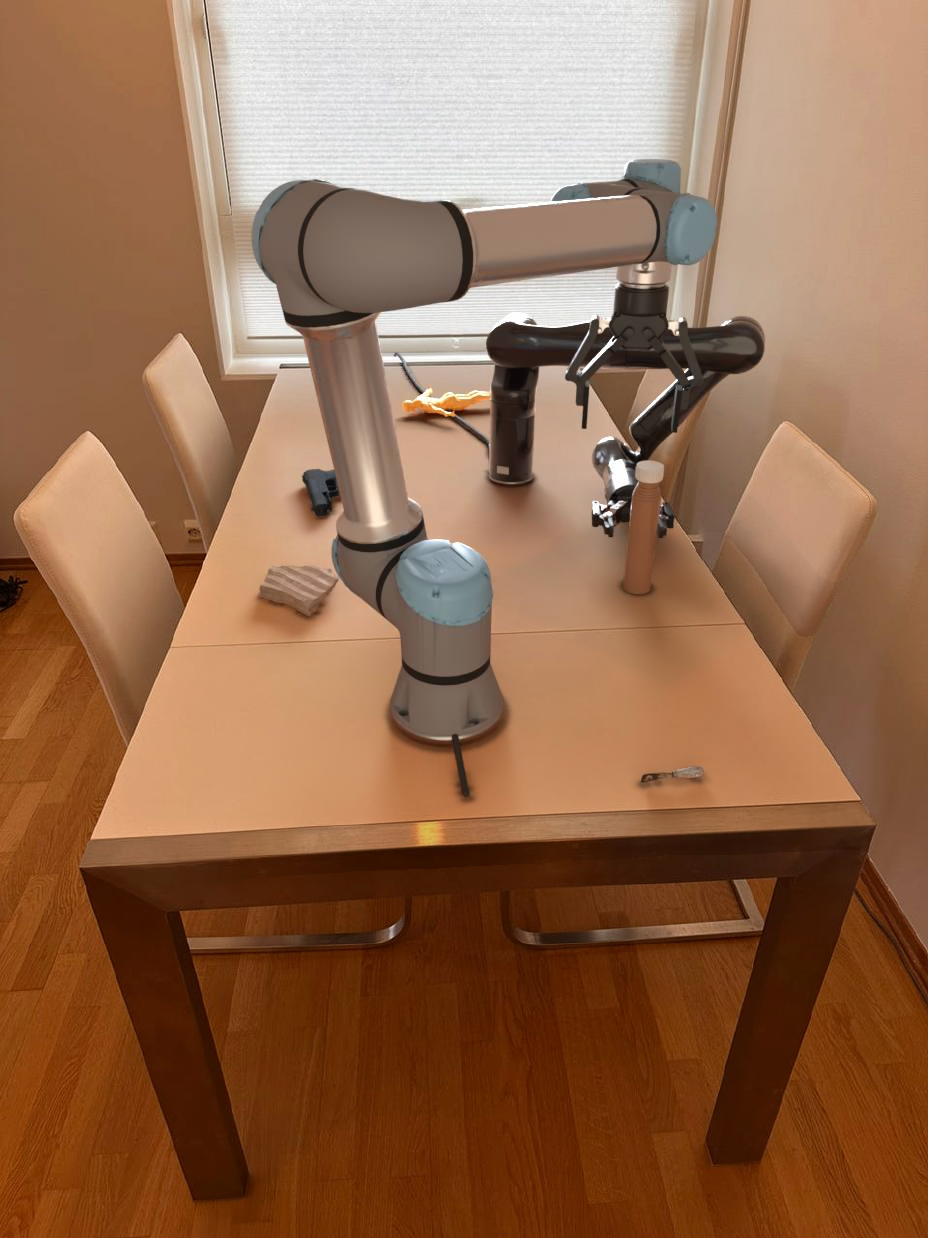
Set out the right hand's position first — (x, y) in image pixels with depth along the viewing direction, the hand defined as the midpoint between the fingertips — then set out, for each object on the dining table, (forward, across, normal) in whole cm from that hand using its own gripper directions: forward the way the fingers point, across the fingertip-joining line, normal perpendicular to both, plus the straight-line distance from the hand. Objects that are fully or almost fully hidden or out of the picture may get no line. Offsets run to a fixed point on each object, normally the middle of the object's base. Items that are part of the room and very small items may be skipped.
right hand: (636, 533), depth 152 cm
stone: (+12, -56, +7) cm, 58 cm away
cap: (+7, 0, -15) cm, 17 cm away
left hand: (+5, -4, -20) cm, 22 cm away
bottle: (+7, 0, +7) cm, 10 cm away
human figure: (-81, -36, +7) cm, 89 cm away
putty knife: (+55, -2, +7) cm, 55 cm away
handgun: (-27, -57, +7) cm, 63 cm away
